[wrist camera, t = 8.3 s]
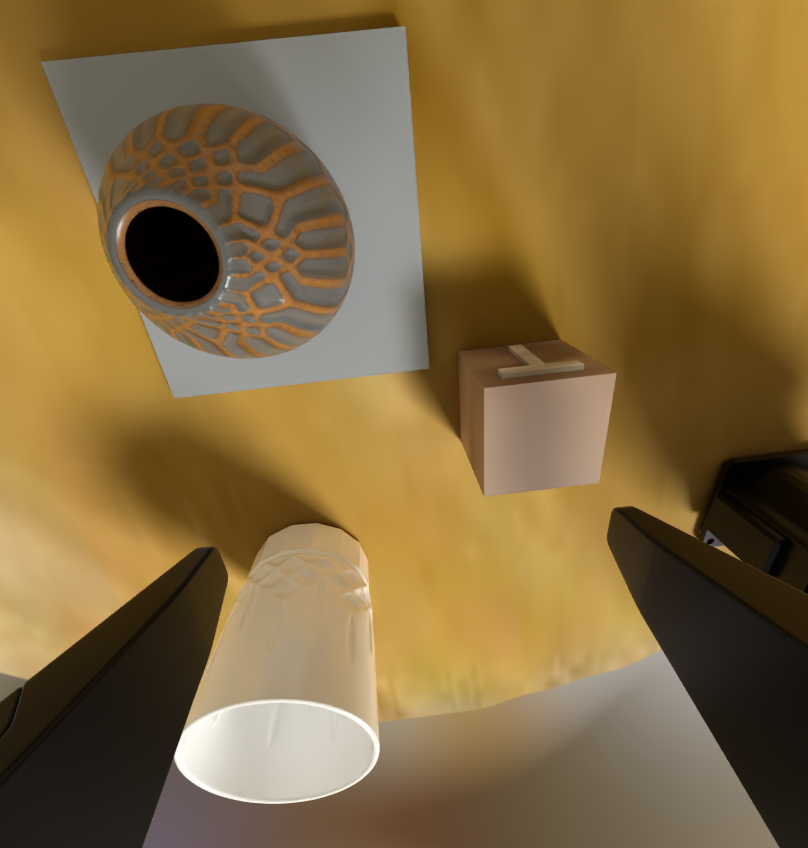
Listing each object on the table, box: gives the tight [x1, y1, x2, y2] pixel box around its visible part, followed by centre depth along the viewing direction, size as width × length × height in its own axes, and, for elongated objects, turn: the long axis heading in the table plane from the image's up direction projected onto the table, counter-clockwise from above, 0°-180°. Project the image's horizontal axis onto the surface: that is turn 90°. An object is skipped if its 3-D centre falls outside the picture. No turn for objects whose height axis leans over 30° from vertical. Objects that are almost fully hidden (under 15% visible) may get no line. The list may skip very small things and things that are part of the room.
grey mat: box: [41, 26, 429, 398], centre depth 16 cm, size 12×12×1 cm
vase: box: [98, 103, 355, 359], centre depth 12 cm, size 7×7×9 cm
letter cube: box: [458, 339, 617, 497], centre depth 18 cm, size 5×5×5 cm
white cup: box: [174, 523, 380, 804], centre depth 20 cm, size 8×8×10 cm
